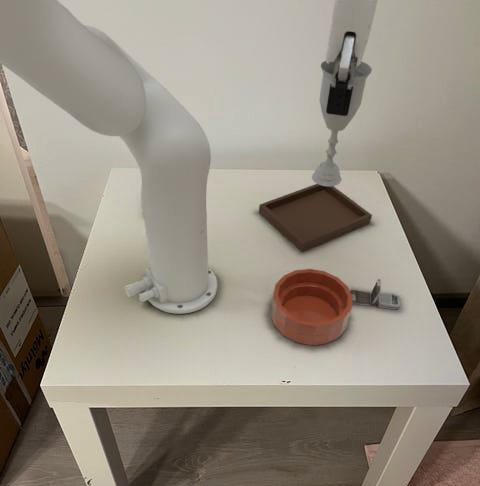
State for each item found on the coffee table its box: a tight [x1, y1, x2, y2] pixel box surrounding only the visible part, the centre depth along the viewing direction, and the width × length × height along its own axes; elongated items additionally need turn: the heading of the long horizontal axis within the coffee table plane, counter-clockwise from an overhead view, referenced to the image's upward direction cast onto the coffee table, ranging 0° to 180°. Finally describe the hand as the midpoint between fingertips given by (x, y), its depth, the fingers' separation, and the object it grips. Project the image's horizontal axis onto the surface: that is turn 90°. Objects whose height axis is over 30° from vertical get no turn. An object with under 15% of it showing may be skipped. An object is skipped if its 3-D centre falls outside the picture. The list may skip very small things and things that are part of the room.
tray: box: [258, 183, 373, 253], centre depth 99 cm, size 18×15×2 cm
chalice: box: [311, 58, 373, 187], centre depth 76 cm, size 7×7×18 cm
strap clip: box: [350, 278, 401, 310], centre depth 83 cm, size 8×3×4 cm, turn 80°
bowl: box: [270, 268, 354, 346], centre depth 80 cm, size 13×13×5 cm
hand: (339, 102), depth 73 cm, fingers closed on chalice, 6 cm apart
